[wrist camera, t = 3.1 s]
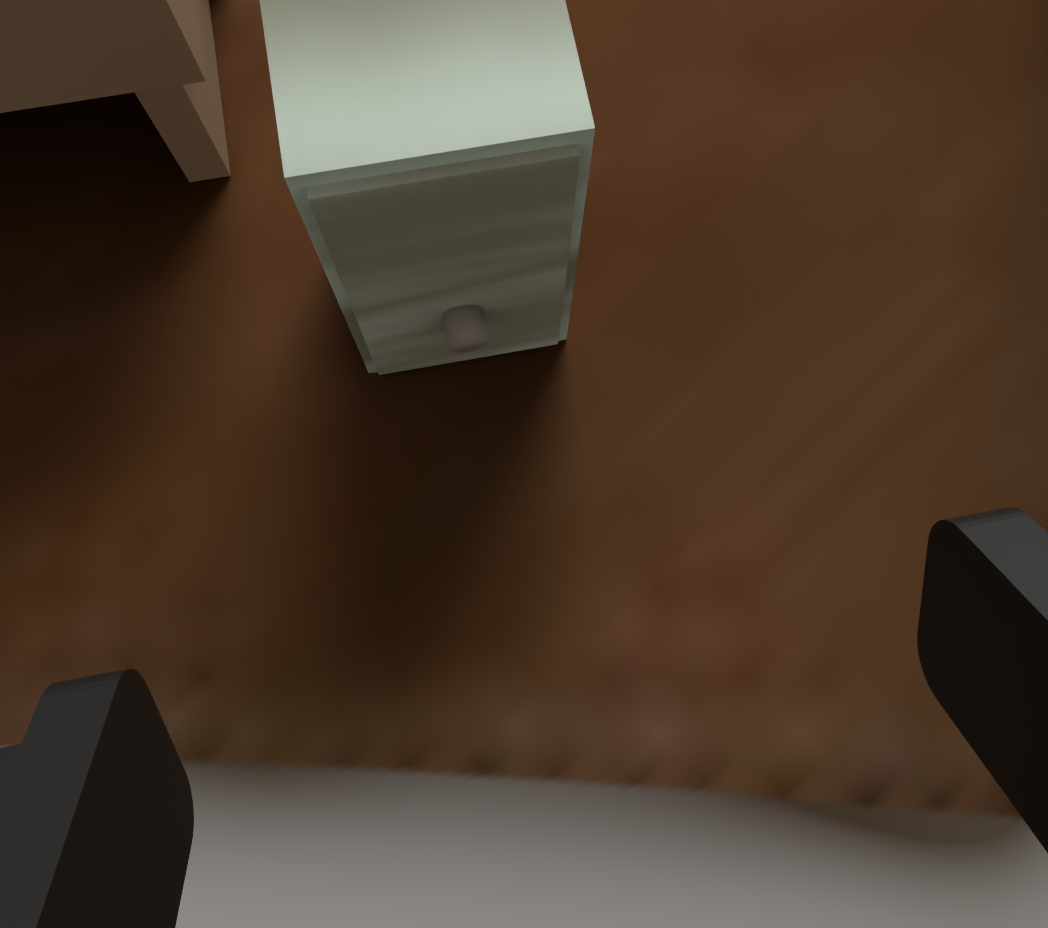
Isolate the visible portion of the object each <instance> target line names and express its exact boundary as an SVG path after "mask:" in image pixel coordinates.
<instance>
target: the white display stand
mask: <svg viewBox="0 0 1048 928" xmlns="http://www.w3.org/2000/svg"><path fill="white" fill-rule="evenodd" d="M133 92H134V93H135V94H136V96H137V97H138V99H139V101H140V102H141V104H142V106H143V107H144V109H145V110H146V112H147V114H148V115H149V117H150V119H151V120H152V122H153V123H154V125H155V127H156V128H157V130H158V132H159V133H160V135H161V137H162V138H163V140H164V141H165V143H166V145H167V146H168V148H169V150H170V151H171V153H172V154H173V156H174V158H175V159H176V161H177V163H178V164H179V166H180V167H181V169H182V171H183V172H184V174H185V176H186V177H187V179H188V180H189V182H195V181H202V180H208V179H214V178H220V177H227V176H231V175H230V167H229V159H228V150H227V142H226V134H225V126H224V118H223V110H222V102H221V94H220V86H219V77H218V69H217V61H216V53H215V45H214V37H213V29H212V21H211V13H210V4H209V0H0V113H3V112H10V111H16V110H23V109H29V108H36V107H42V106H49V105H55V104H62V103H68V102H75V101H81V100H88V99H94V98H101V97H107V96H114V95H120V94H127V93H133Z"/></svg>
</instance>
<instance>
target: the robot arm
mask: <svg viewBox="0 0 1048 928" xmlns="http://www.w3.org/2000/svg"><path fill="white" fill-rule="evenodd" d="M917 644H918V653H919V658H920V663H921V666H922V670H923V672H924V675H925V678H926V680H927V683H928V685H929V687H930V689H931V691H932V692H933V694H934V696H935V697H936V699H937V700H938V701H939V703H940V704H941V706H942V707H943V708H944V710H945V711H946V713H947V714H948V715H949V717H950V718H951V719H952V721H953V722H954V724H955V725H956V726H957V728H958V729H959V731H960V732H961V733H962V735H963V736H964V738H965V739H966V740H967V742H968V743H969V744H970V746H971V747H972V749H973V750H974V751H975V753H976V754H977V756H978V757H979V758H980V760H981V761H982V763H983V764H984V765H985V767H986V768H987V769H988V771H989V772H990V774H991V775H992V776H993V778H994V779H995V781H996V782H997V783H998V785H999V786H1000V787H1001V789H1002V790H1003V792H1004V793H1005V794H1006V796H1007V797H1008V799H1009V800H1010V801H1011V803H1012V804H1013V806H1014V807H1015V808H1016V810H1017V811H1018V812H1019V814H1020V815H1021V817H1022V818H1023V819H1024V821H1025V822H1026V824H1027V825H1028V826H1029V828H1030V829H1031V830H1032V832H1033V833H1034V835H1035V836H1036V837H1037V839H1038V840H1039V842H1040V843H1041V844H1042V846H1043V847H1044V848H1045V850H1046V851H1047V853H1048V533H1047V532H1046V531H1045V530H1044V529H1043V528H1042V527H1041V526H1040V525H1039V524H1037V523H1036V522H1035V521H1034V520H1033V519H1032V518H1031V517H1030V516H1029V515H1027V514H1026V513H1025V512H1023V511H1021V510H1020V509H1017V508H1013V507H1012V508H1004V509H999V510H993V511H988V512H982V513H977V514H972V515H966V516H961V517H956V518H950V519H945V520H940V521H938V522H936V523H935V524H934V526H933V527H932V529H931V531H930V534H929V539H928V546H927V555H926V564H925V572H924V581H923V590H922V598H921V607H920V616H919V625H918V634H917ZM193 827H194V813H193V801H192V795H191V789H190V784H189V781H188V777H187V775H186V772H185V770H184V767H183V765H182V763H181V761H180V758H179V756H178V754H177V752H176V749H175V747H174V745H173V743H172V740H171V738H170V736H169V734H168V731H167V729H166V727H165V725H164V722H163V720H162V718H161V716H160V713H159V711H158V709H157V707H156V704H155V702H154V700H153V698H152V695H151V693H150V691H149V689H148V686H147V684H146V682H145V680H144V679H143V677H142V676H141V674H140V673H139V672H138V671H136V670H134V669H126V670H121V671H115V672H110V673H104V674H99V675H94V676H88V677H83V678H78V679H72V680H67V681H61V682H56V683H53V684H51V685H50V686H48V687H47V689H46V690H45V691H44V693H43V695H42V697H41V699H40V701H39V703H38V706H37V708H36V710H35V713H34V715H33V717H32V720H31V722H30V724H29V727H28V729H27V731H26V734H25V736H24V739H23V741H22V743H21V744H19V745H13V746H8V747H3V748H0V928H175V926H176V920H177V915H178V910H179V905H180V900H181V895H182V890H183V885H184V879H185V875H186V869H187V864H188V859H189V854H190V849H191V844H192V838H193Z"/></svg>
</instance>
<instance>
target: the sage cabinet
mask: <svg viewBox="0 0 1048 928" xmlns="http://www.w3.org/2000/svg"><path fill="white" fill-rule="evenodd" d="M260 6H261V13H262V20H263V28H264V35H265V42H266V49H267V56H268V63H269V71H270V78H271V85H272V92H273V99H274V107H275V114H276V121H277V128H278V135H279V143H280V150H281V157H282V164H283V171H284V178H285V180H286V183H287V185H288V187H289V190H290V192H291V194H292V197H293V199H294V201H295V204H296V206H297V208H298V210H299V213H300V215H301V217H302V220H303V222H304V224H305V227H306V229H307V231H308V234H309V236H310V238H311V241H312V243H313V245H314V248H315V250H316V252H317V255H318V257H319V259H320V261H321V264H322V266H323V268H324V271H325V273H326V275H327V278H328V280H329V282H330V285H331V287H332V289H333V292H334V294H335V296H336V299H337V301H338V303H339V306H340V308H341V310H342V312H343V315H344V317H345V319H346V322H347V324H348V326H349V329H350V331H351V333H352V336H353V338H354V340H355V343H356V345H357V347H358V350H359V352H360V354H361V357H362V359H363V361H364V363H365V366H366V368H367V370H368V373H375V372H378V374H379V375H382V374H388V373H394V372H400V371H405V370H411V369H417V368H423V367H429V366H434V365H440V364H446V363H452V362H458V361H463V360H469V359H475V358H481V357H487V356H492V355H498V354H504V353H510V352H516V351H521V350H527V349H533V348H539V347H545V346H550V345H556V344H558V341H561V340H566V338H567V330H568V323H569V315H570V308H571V301H572V293H573V286H574V279H575V271H576V264H577V257H578V249H579V242H580V235H581V227H582V220H583V213H584V205H585V198H586V191H587V183H588V176H589V169H590V161H591V154H592V147H593V139H594V132H595V126H594V122H593V117H592V113H591V109H590V104H589V100H588V96H587V92H586V87H585V83H584V79H583V75H582V70H581V66H580V62H579V58H578V53H577V49H576V45H575V41H574V36H573V32H572V28H571V24H570V19H569V15H568V11H567V6H566V2H565V0H260Z"/></svg>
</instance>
